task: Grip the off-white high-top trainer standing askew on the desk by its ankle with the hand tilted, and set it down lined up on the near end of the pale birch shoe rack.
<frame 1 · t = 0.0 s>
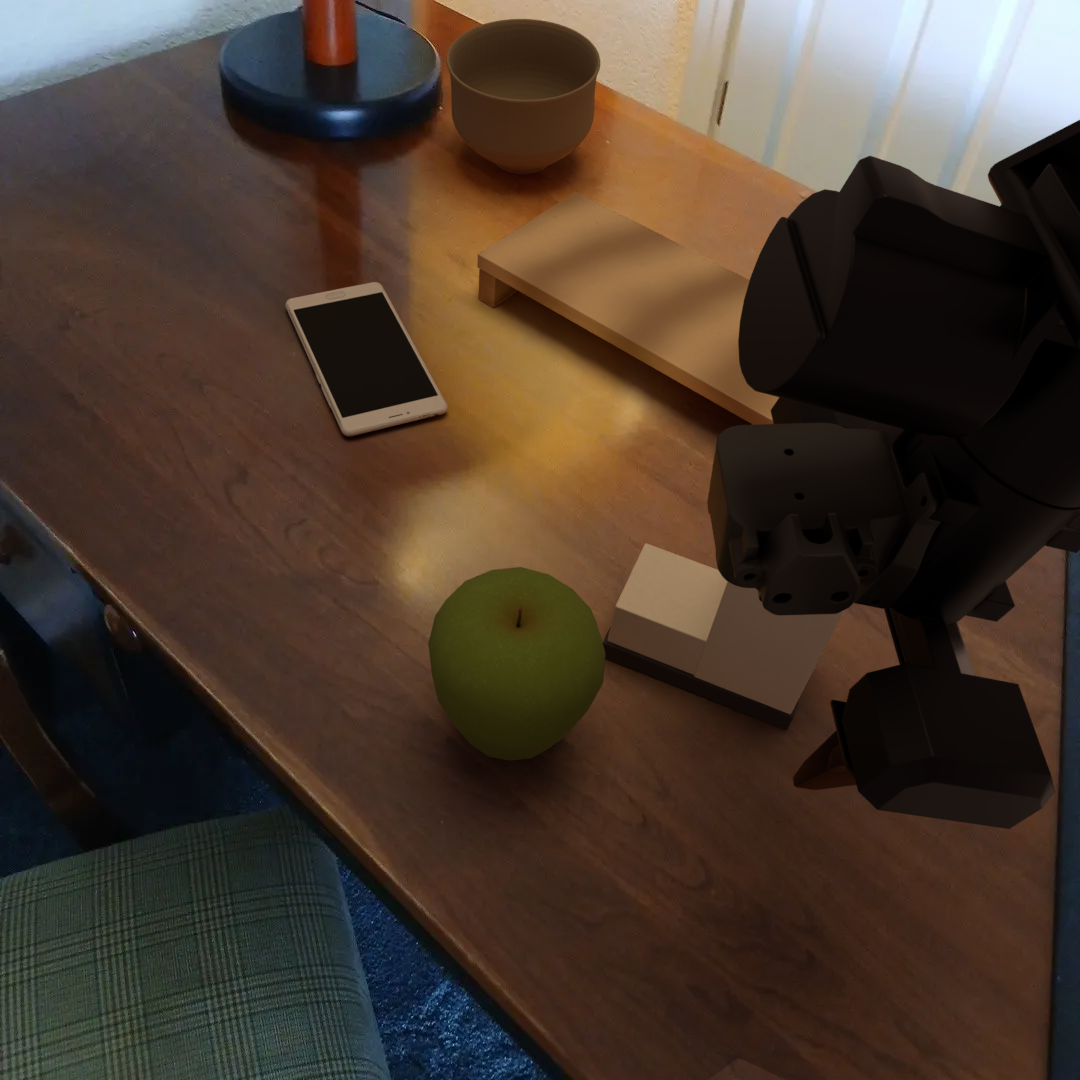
hand: (784, 686, 45), 12 cm above the table, tool pointing down, fingers open, 9 cm apart
apple: (507, 731, 57), on the table
smartphone: (363, 360, 75), on the table
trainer: (748, 673, 60), on the table
shoe rack: (679, 350, 78), on the table
bowl: (517, 165, 93), on the table
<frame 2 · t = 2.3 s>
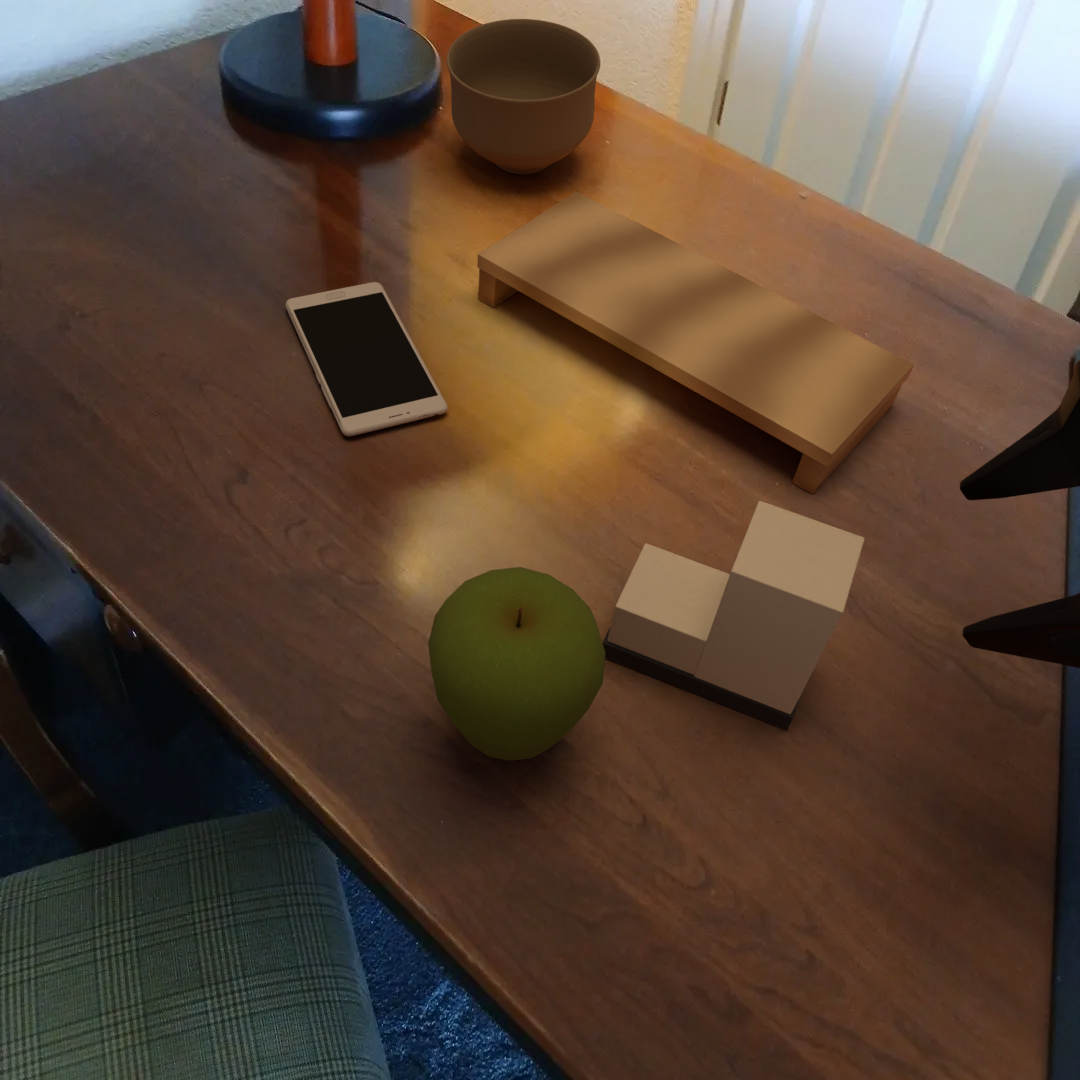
hand: (964, 560, 49), 13 cm above the table, tool tilted 45°, fingers open, 9 cm apart
nothing on the table moved.
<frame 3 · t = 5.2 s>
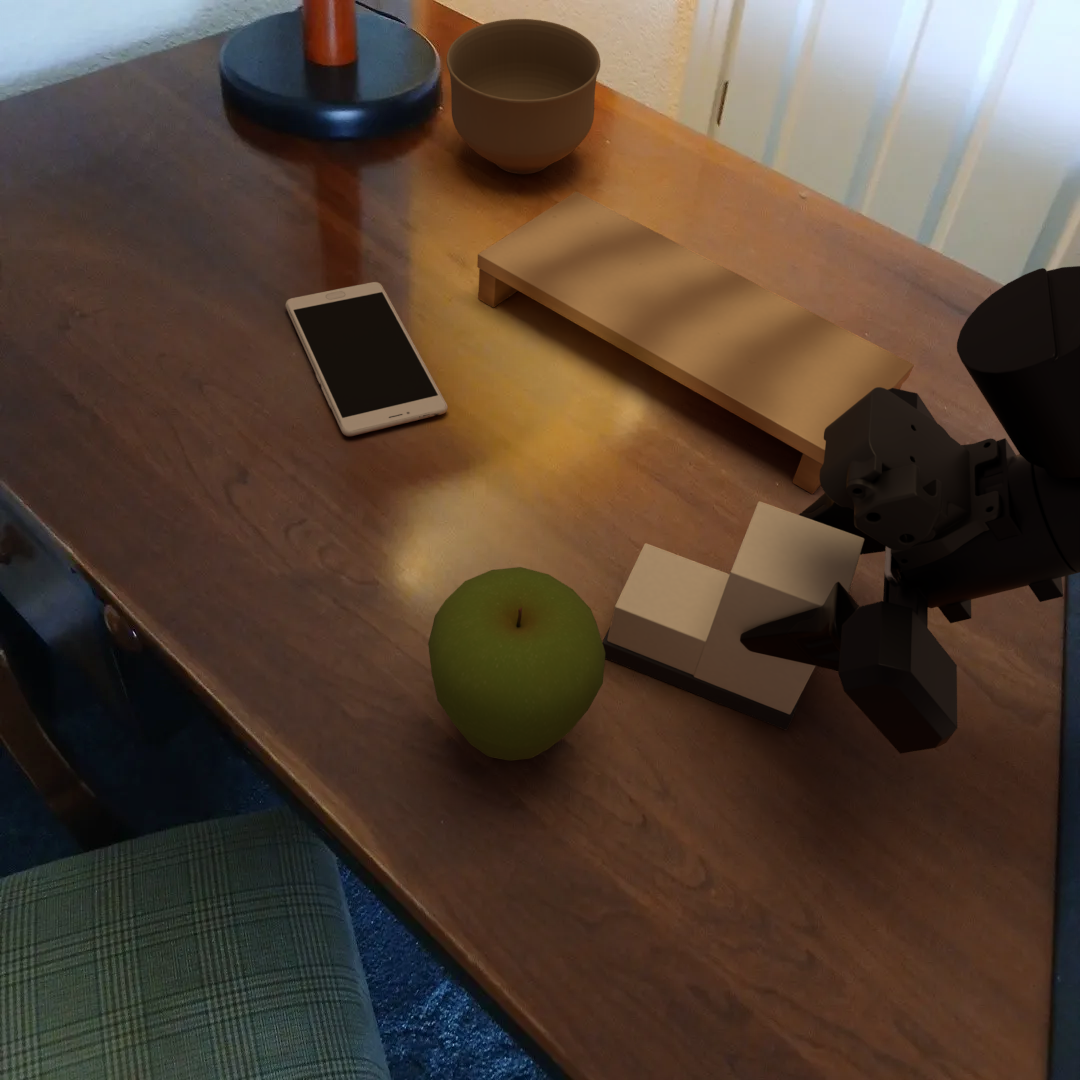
hand: (750, 598, 55), 7 cm above the table, tool tilted 45°, fingers closed on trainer, 5 cm apart
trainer: (748, 673, 60), on the table, touching gripper
everything else where it was.
when the fingers open (11 cm above the table, at t = 12.2 s): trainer stays where it is, resting on shoe rack.
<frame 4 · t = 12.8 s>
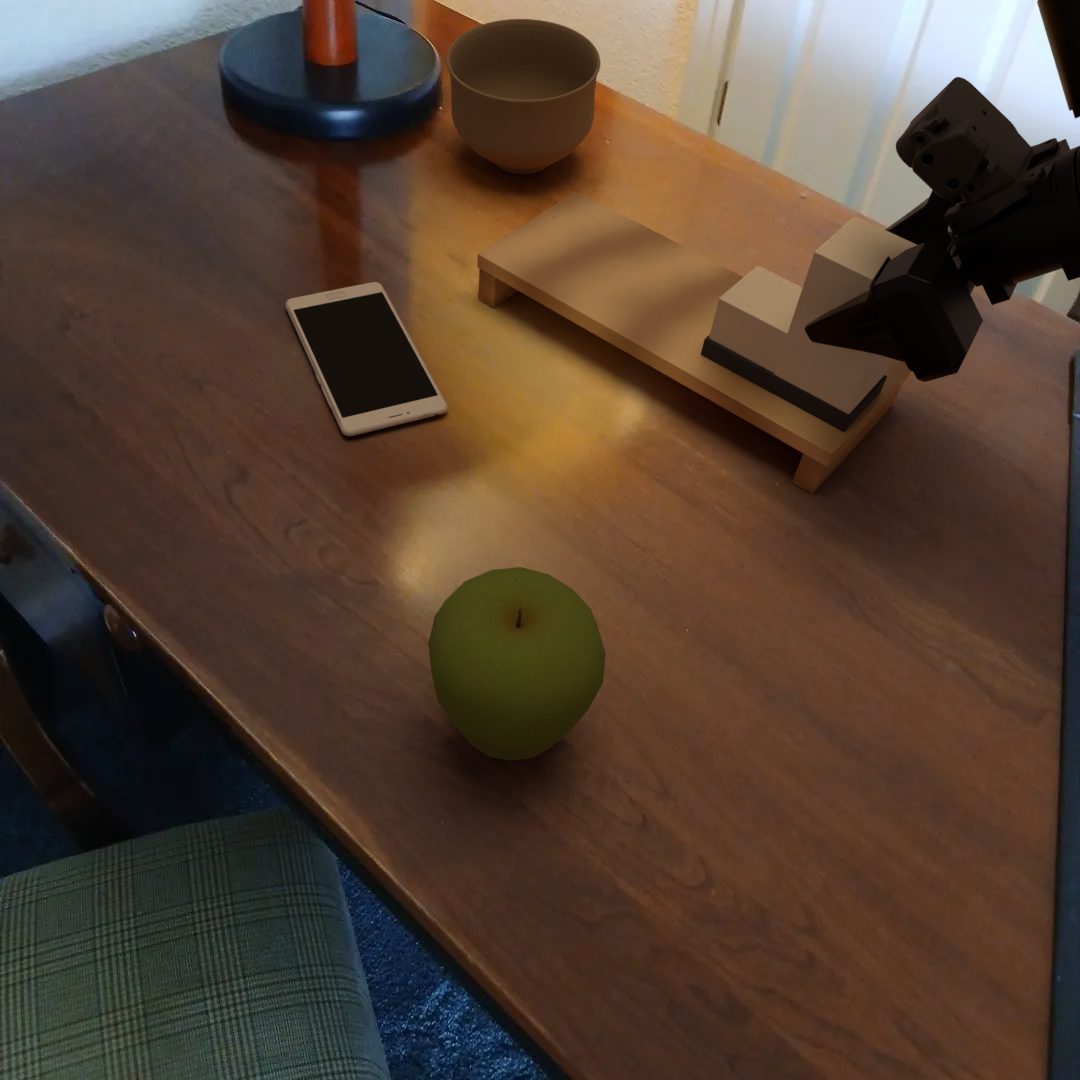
hand: (834, 294, 65), 11 cm above the table, tool tilted 45°, fingers open, 9 cm apart
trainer: (823, 390, 71), point 4 cm above the table, touching shoe rack
everything else where it was.
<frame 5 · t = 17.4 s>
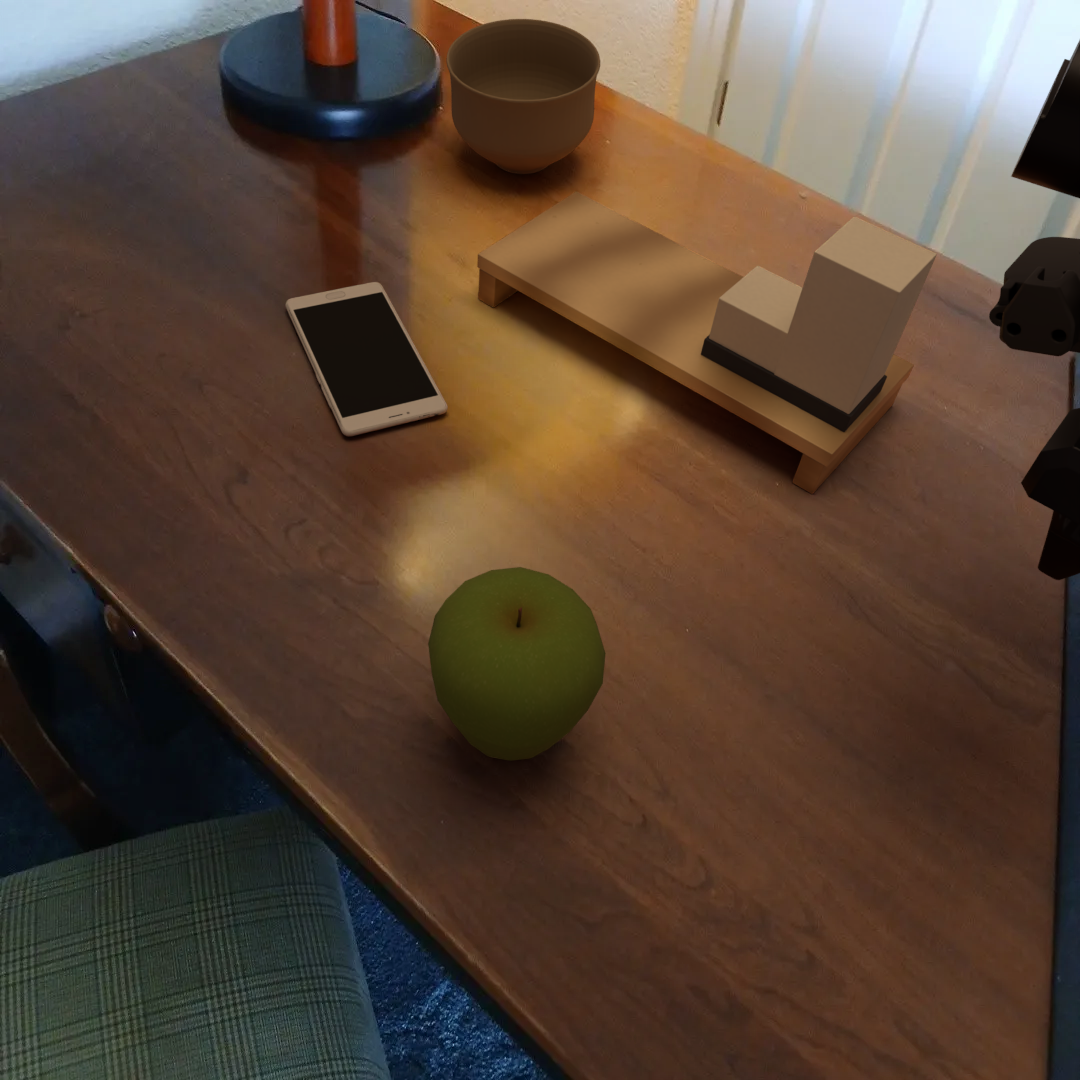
nothing on the table moved.
at the end: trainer inside the target area on the shoe rack (1.6 cm from its centre), point 4.0 cm above the shoe rack's base; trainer tilted 0°; the gripper is holding nothing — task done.
